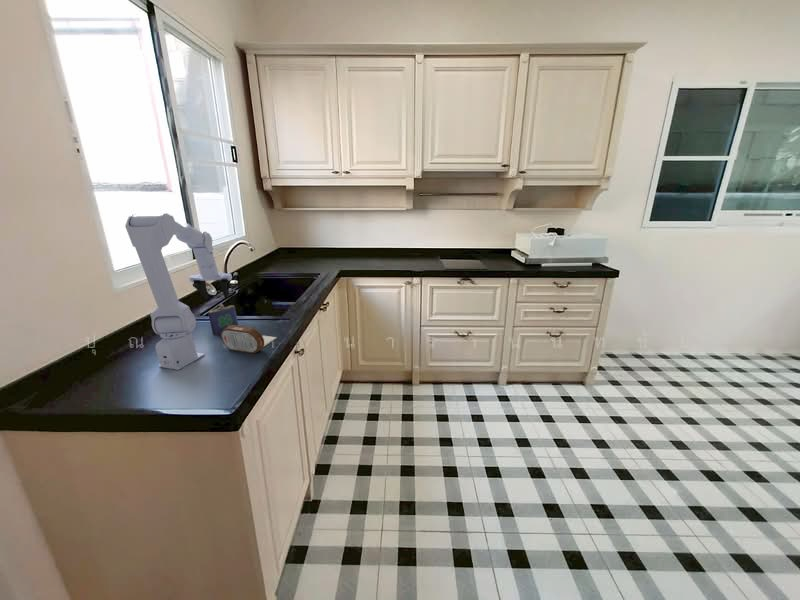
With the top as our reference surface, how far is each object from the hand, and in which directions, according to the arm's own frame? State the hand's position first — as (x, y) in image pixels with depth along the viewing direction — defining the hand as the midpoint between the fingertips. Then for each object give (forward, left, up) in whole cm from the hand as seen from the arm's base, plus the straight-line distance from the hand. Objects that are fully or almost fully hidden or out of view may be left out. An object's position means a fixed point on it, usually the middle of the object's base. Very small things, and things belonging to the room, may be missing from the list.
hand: (216, 297), depth 129 cm
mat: (-11, -25, -11) cm, 29 cm away
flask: (-6, -7, -11) cm, 14 cm away
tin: (-17, -25, -11) cm, 32 cm away
